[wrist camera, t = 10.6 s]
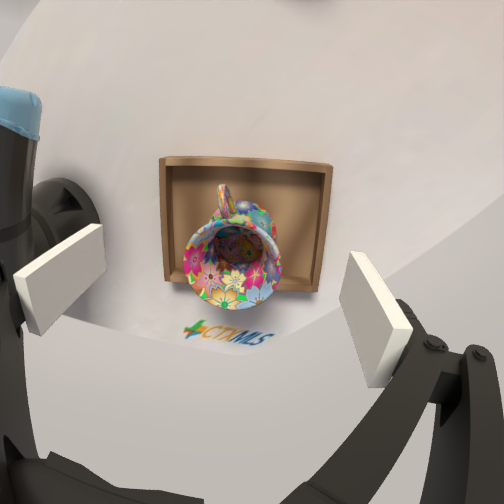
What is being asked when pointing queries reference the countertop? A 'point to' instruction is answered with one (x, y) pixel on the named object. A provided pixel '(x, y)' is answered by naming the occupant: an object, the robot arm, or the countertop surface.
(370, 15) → the countertop surface
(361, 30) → the countertop surface
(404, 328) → the robot arm
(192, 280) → the mug
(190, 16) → the countertop surface
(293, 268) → the tray
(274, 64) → the countertop surface
